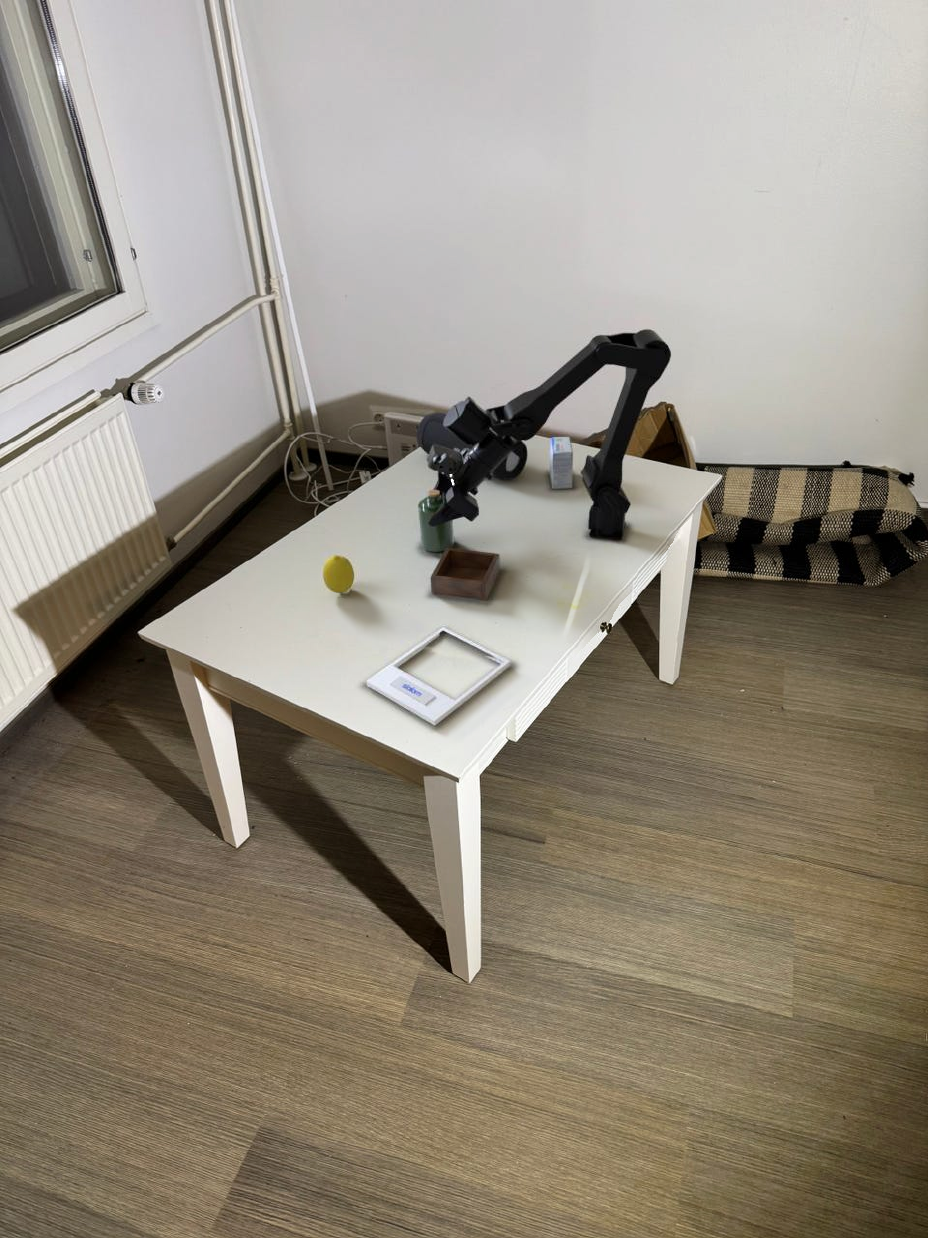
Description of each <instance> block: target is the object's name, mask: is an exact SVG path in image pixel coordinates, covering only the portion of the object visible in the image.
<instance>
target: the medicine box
mask: <svg viewBox="0 0 928 1238" xmlns="http://www.w3.org/2000/svg"><path fill="white" fill-rule="evenodd" d="M549 439H550V440H549V476H550V483H551V488H552V490H562V489H565V490H567V489H572V488H573V474H574V472H573V471H574V469H573V468H574V451H573V445H572V441H571V437H570V436H553V437H550V438H549Z"/></svg>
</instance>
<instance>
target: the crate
mask: <svg viewBox="0 0 928 1238" xmlns="http://www.w3.org/2000/svg"><path fill="white" fill-rule="evenodd" d="M500 557H501V554H500V553H496V552H495V553H494V552H488V551H478V550H472V549H471V550H470V549H462V548H453V547H451V548H446V550H444V552H443V553H442V555H441V557H440V559H439V561H438V563H437V564H436V566H435V568H434V569H433V572H432V574H431V575H430V589H431V594H432V595H439V596H440V595H441V596H448V597H455V598H461V599H462V598H463V599H470V600H476V601H477V600H478V601H487V600H488V598H489V595H490V594H491V592H492V589H493V587H494V585H495V582H496V580H497V578H498V575H499V573H500V571H501V560H500V559H501V558H500Z"/></svg>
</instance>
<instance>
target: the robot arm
mask: <svg viewBox="0 0 928 1238" xmlns="http://www.w3.org/2000/svg"><path fill="white" fill-rule="evenodd" d="M671 357H672V352H671V348H670V346H669V345H668V344H667V343H666V341H665V340H664V339H663V338H662V337H661V336H660V335H659V334H658V333H657V332H656V331H655V330H653V329H649V328H645V329H641V330H638V331H637V332H620V333H615V334H614V333H613V334H599V335H598V334H597V335H595V336H594V337H592V338H591V340H590V341H589V342H588V344H587V345H585V346H584V347H583V348H582V349H581V350H579V351H578V352H577V353H576V354H575V355H574V356H572V357H571V358H570V359H569V360H568V361H567V362H566V363H565V364H564V365H562V366H561V367H559V369H558V370H556V371H555V372H554V373H553V374H552V375H551V376H549V377H548V378H547V379H546V380H545V381H544V382H542V383H541V384H540V385H539V386H537V387H536V388H533V389H531V390H527V391H523V392H522V393H521V394H519V395H517V396H516V397H515V398H513V399H511V400H510V401H508V402H507V403H506V404H503V405H498V406H494V407H490V408H487V409H485V410H484V408H482V407H481V406H480V405H478V404H477V402H476V400H474V399H473V397H471V396H467V397H466V398H465V400H461V401H459V402H457V403H456V404H454V405H452V406H451V407H450V409H448V412H447V413H446V414H447V415H446V416H445V418H444V421H443V426H444V427H445V428H447V429H448V430H449V431H450V432H452V433H453V434H454V435H455V436H457V437H458V438H459V439H460V440H462V441H463V442H464V443H465V444H467V445H470V444H472V445H473V448H472V449H471V450H470V449H469V448H468V447H467V448H464V449H463V450H462V451H461V452H460V453H459V452H457V451H455V450H453V449H450V448H447V447H444V446H441V445H438V444H433V445H432V448H431V450H430V453H429V454H427V456H426V457H427V458H426V461H427V467H428V468H429V469H430V470H432V471H434V472H437V481H436V484H435V485H434V487H433V489H432V490H438V491H439V492H440V493H441V496H443V503H442V504H441V506H440V507H439V508H438V510H437V511H436V512H435V514H434V515H433V517H432V518H431V519H430V521H429V523H428V524H429V525H430V526H431V527H434V526H437V525H440V524H442V523H445V522H448V521H451V520H453V521H454V520H458V519H462V518H465V519H466V520H468V522H471V523H472V522H474V521H475V520H476V518H477V517H479V516H480V507H479V503H478V501H477V499H476V498H475V497H474V496H476V495H477V494H478V493H479V490H478V487H480V485H482V483H483V482H484V481H485V480H486V479H487V480H489V481H491V480H492V479H493V478H494V477H493V474H492V472H493V471H494V470H495V469H496V467H497V466H498V465H499V464H500V463H501V462H502V461H503V460H504V459H505V458H506V457H507V456H508V455H509V454H510V453H511V452H513V453H514V454H516V455H517V456H518V457H519V458H522V457H523V454H522V446H523V443H524V442H526V441H529V440H531V439H533V438H534V437H535V436H536V435H537V434H538V433H539V431H540V430H541V429H542V428H543V427H544V425H545V424H546V423H547V421H548V420H549V418H550V416H551V414H552V413H553V411H554V410H555V409H556V408H557V407H558V406H559V405H560V404H561V403H562V402H564V401H565V400H566V399H567V398H568V397H570V395H572V394H573V393H575V392H576V390H578V389H579V388H580V387H581V386H582V385H584V384H585V383H586V382H588V380H590V379H591V378H592V377H593V376H594V375H595V374H596V373H598V372H599V371H600V370H601V369H603V368H604V367H605V366H618V367H623V368H625V376H624V377H625V378H624V381H623V384H622V388H621V391H620V393H619V397H618V399H617V402H616V405H615V408H614V410H613V414H612V416H611V419H610V422H609V424H608V427H607V431H606V432H605V436H604V439H603V442H602V445H601V447H600V450H599V451H598V452H597V453H596V454H595V455H594V456H592V455H590V454H587V455H586V457H585V462H584V466H583V468H582V470H581V471H580V475H581V476H582V478H581V479H582V484H583V486H584V487H585V490H586V492H587V493H588V496H589V497H590V499H591V501H592V505H591V506H590V508H589V511H588V524H587V526H588V527H587V529H588V530H589V533H588V537H590V538H597V539H604V540H605V539H606V540H614V541H622V540H623V537H624V534H625V530H626V527H627V522H626V514H627V513H628V511H629V509H630V507H631V504H632V503H631V502H630V500H629V498H628V496H627V495H626V493H625V491H624V489H623V488H622V483H623V463H624V459H625V456H626V453H627V450H628V448H629V445H630V443H631V439H632V436H633V434H634V432H635V429H636V426H637V424H638V420H639V418H640V415H641V413H642V410H643V407H644V405H645V402H646V399H647V396H648V393H649V391H650V390H651V388H653V386H654V385H655V384H656V383H658V381H659V380H660V379H661V378H662V376H663V374H664V372H665V370H666V369H667V367H668V365H669V363H670V362H671ZM502 421H503V422H502ZM512 437H513V438H512ZM472 495H473V496H472Z"/></svg>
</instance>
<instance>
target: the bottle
mask: <svg viewBox="0 0 928 1238" xmlns="http://www.w3.org/2000/svg"><path fill="white" fill-rule="evenodd" d="M442 503H443V496H441V493H440V492H439V491H438V490H433V489H431V490H429V491H428V492H427V494H426V497H424V498H423V499H421V500H420V501H419V502H418V504H417V512H418V524H419V535H420V543H421V544H420V546H421V547H422V549H424V550H426V551H428V552H435V553H436V552H443V551H444V552H445V550H446V548H453V546H454V544H455V538H454V537H455V536H454V520H451V521H448V522H445V523H442V524H440V525H437V526H434V527H431V526H430V525H429V524H428V523H429V521H430V519H431V518H432V517H433V515H434V514H435V512H436V511H437V510H438V508H439V507H440V506H441V504H442Z"/></svg>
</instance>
